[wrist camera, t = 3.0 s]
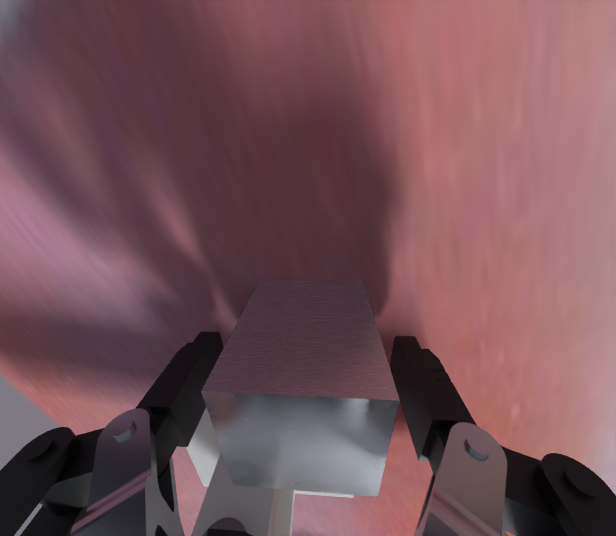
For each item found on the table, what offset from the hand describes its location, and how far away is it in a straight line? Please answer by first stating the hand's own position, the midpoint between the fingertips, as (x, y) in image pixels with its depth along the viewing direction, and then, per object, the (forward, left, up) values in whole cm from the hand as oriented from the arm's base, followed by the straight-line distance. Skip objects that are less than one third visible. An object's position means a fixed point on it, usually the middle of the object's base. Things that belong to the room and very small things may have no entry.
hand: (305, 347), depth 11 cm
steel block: (0, 0, -2) cm, 2 cm away
